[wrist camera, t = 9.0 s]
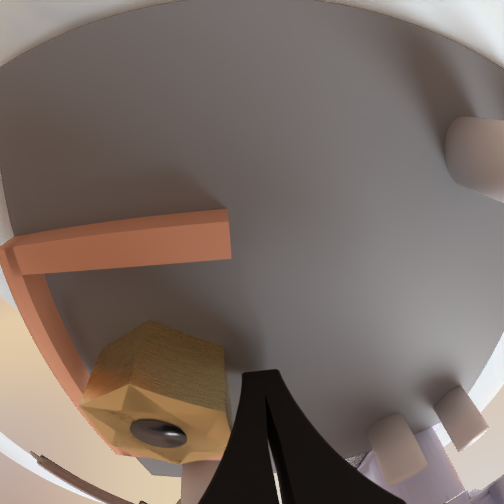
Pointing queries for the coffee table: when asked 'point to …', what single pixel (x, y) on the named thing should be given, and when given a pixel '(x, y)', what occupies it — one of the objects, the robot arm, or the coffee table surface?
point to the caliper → (80, 482)
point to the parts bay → (93, 258)
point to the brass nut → (161, 395)
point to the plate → (281, 204)
